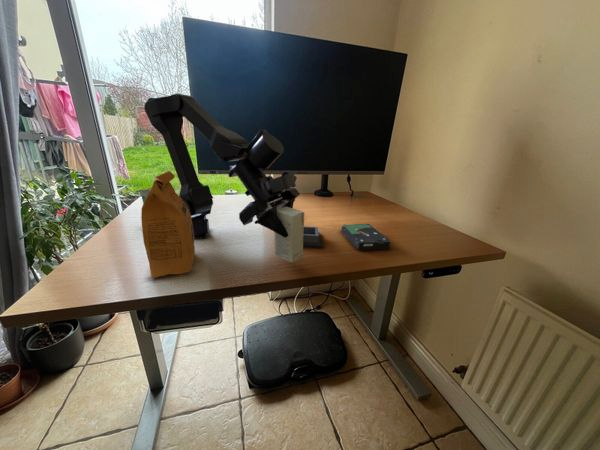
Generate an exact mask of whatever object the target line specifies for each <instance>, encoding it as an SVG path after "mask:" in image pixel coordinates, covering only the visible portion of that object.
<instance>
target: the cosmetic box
mask: <svg viewBox="0 0 600 450" xmlns="http://www.w3.org/2000/svg"><path fill="white" fill-rule="evenodd" d="M277 216H278V218H279V219H280V221H281V223H282V224H283V226H284V228H285V229H286V231H287V233H288V236H287V237H286V238H284V237H283V236H281V235H279V234H277V233H276V232H274V231H273V233H274V236H273V237H274V239H273V240H274V256H277V257H278V258H281V259H283V260H284V261H287V262H289V263H294V262H296V261H299V260H300V259H302V258H303V257H304V247H303V234H304V226H305V211H302V210H301V209H296V208H294V207H293V208H290V207H282V208H279V209H277Z"/></svg>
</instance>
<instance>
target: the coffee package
mask: <svg viewBox="0 0 600 450" xmlns="http://www.w3.org/2000/svg"><path fill="white" fill-rule="evenodd" d="M175 177H176V176H175V174H174V173H173V172H172V171H171V170H166V171H165V172H163V173H160V174H158V175H156V176H154V180H153V184H152V186H151V187H152V188H151V187H150V188H151V189H150V191H149V193H148V195H147V197H146V199H145V200H144V203H143V202H142V207H141V217H140V218H141V219H140V220H141V231H142V239H143V241H142V242H143V244H144V249H145V252H146V255H147V256H146V257H147V260H148V264H149V271H150V277H151V278H154V279H155V278H159V277H165V276H168V275H182V274H185V273H189V272H191V271H192V269H193V265H194V260H195V253H196V247H195V246H196V245H195V238H194V230H193V225H192V219H191V215H190V212H189V210H188V207H187V205H186V204H185V202H184V201H183V200H182V199H181V197H180V196H179V194H178V193H177V192H176V190H175V188H174V186H173V185H172V182H171V181H173V180H174V179H175Z"/></svg>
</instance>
